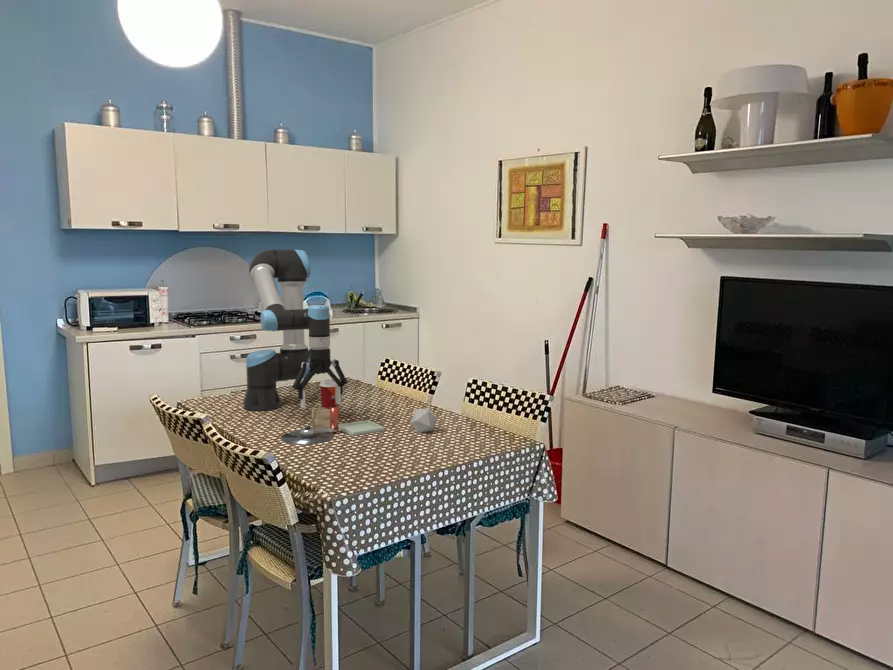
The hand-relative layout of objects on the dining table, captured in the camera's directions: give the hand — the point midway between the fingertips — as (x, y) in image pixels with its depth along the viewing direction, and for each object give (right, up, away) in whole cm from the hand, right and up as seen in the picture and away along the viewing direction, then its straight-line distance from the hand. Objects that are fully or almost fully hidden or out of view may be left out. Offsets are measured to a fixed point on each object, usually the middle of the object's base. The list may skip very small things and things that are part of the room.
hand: (320, 405), depth 245 cm
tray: (+15, -9, 0) cm, 17 cm away
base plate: (-3, -10, -10) cm, 15 cm away
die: (+38, -9, 0) cm, 39 cm away
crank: (+1, -9, -8) cm, 12 cm away
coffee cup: (+1, -7, +15) cm, 16 cm away
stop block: (0, -8, +1) cm, 8 cm away
